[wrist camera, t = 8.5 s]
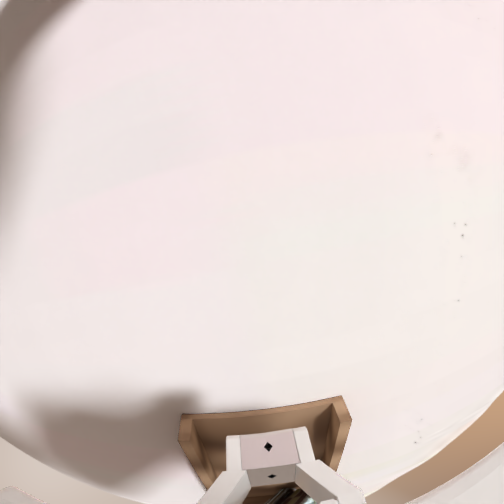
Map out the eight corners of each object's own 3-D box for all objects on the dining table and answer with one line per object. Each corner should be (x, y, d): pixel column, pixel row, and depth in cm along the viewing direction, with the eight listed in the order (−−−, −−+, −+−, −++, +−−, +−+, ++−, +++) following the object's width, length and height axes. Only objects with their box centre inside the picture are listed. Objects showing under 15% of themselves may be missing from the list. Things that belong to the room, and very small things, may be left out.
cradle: (181, 414, 20) (177, 440, 18) (341, 395, 21) (352, 419, 18) (223, 497, 27) (223, 513, 24) (320, 485, 28) (325, 500, 25)
